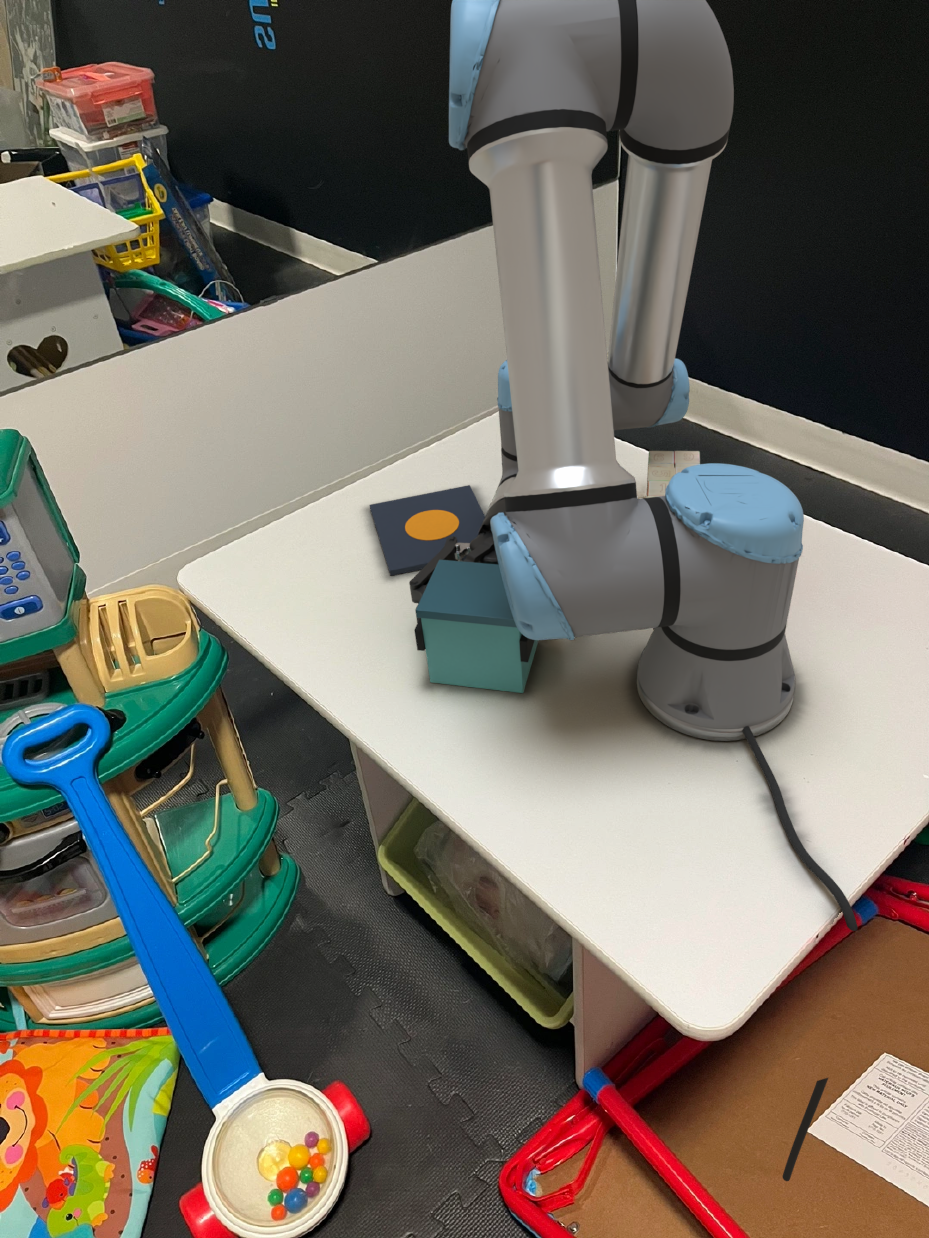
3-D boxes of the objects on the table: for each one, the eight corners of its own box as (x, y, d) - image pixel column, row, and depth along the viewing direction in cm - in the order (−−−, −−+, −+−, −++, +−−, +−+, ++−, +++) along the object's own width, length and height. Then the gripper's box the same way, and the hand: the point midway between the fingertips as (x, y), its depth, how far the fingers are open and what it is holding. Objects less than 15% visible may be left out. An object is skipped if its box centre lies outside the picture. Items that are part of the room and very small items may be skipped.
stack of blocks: (645, 513, 117) (650, 427, 110) (695, 515, 116) (703, 427, 109) (638, 619, 101) (643, 526, 94) (697, 622, 100) (706, 528, 92)
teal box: (447, 632, 102) (438, 559, 96) (541, 641, 100) (538, 567, 94) (426, 684, 96) (415, 610, 90) (525, 695, 93) (521, 620, 87)
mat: (501, 553, 113) (500, 547, 113) (390, 576, 112) (389, 570, 111) (470, 489, 126) (469, 484, 125) (370, 509, 124) (369, 504, 123)
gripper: (613, 556, 107) (584, 686, 91) (428, 542, 113) (369, 662, 96) (614, 502, 102) (584, 628, 86) (421, 489, 108) (358, 606, 91)
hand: (470, 646), depth 91 cm, fingers closed on teal box, 10 cm apart
